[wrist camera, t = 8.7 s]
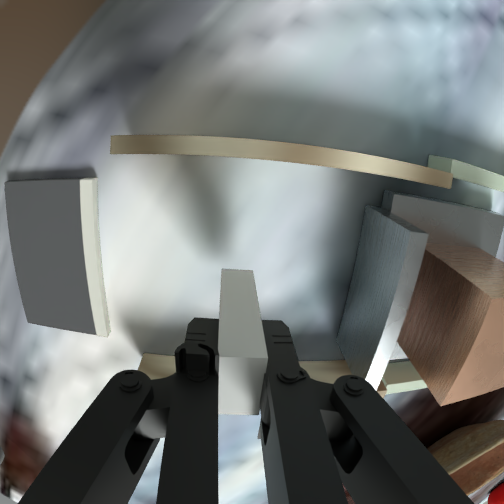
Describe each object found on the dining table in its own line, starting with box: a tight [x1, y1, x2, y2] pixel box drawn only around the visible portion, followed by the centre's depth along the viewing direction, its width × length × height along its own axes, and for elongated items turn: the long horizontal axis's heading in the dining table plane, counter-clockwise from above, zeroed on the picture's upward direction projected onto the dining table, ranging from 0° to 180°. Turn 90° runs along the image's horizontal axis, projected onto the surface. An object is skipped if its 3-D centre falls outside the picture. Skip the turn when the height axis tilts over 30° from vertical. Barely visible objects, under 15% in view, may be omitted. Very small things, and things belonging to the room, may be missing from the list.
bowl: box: [427, 420, 504, 496], centre depth 25 cm, size 24×24×8 cm
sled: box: [336, 190, 504, 406], centre depth 15 cm, size 11×11×8 cm
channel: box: [110, 135, 453, 398], centre depth 16 cm, size 16×15×4 cm
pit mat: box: [5, 178, 111, 337], centre depth 17 cm, size 7×10×1 cm
